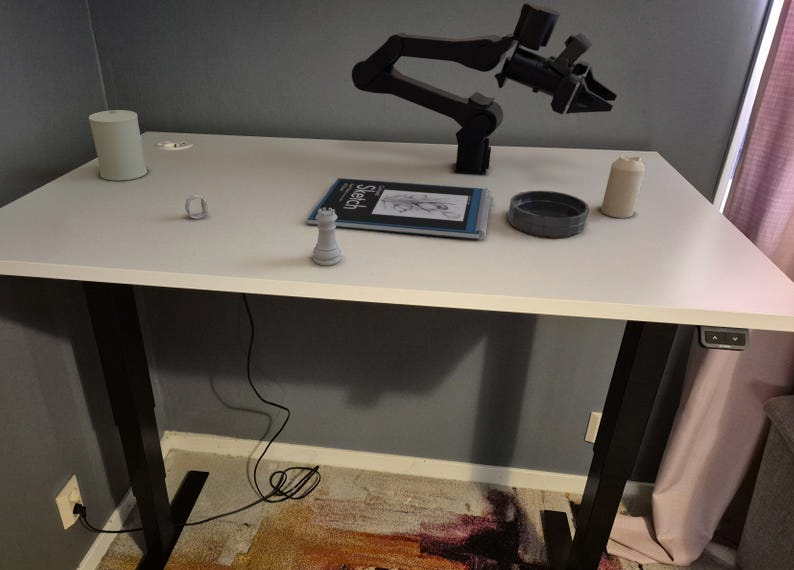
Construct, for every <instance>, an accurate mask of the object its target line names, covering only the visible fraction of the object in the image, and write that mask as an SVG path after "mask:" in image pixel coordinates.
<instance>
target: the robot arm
mask: <svg viewBox="0 0 794 570" xmlns="http://www.w3.org/2000/svg"><path fill="white" fill-rule="evenodd" d="M519 13H520V14H519V17H518V19H517V22H516V25H515V28H514V30H513V32H510V33H508V34H506V35H505V36H502V37H501V36H499V35H497V34H488V35H479V36H473V37H466V38H452V37H441V36H430V35H417V34H408V33H405V32H397V33H395V34H392V35H390V36H389V37H388V38H387V40H386V41H385V42H384V43H383V44H382V45H381V46H379V48H377V49H376V50H374V52H373V53H372V54H370V55H369V57H368V58H366V59H362V60H360V61H358V62H356V64H354V66H352V70H351V81H352V82H353V86H354V87H355V88H356V89H358V90H359V91H361V92H367V93H372V94H381V95H382V94H383V95H384V94H386V95H392V96H395V97H398V98H400V99H403V100H405V101H408V102H410V103H413V104H415V105H417V106H420V107H422V108H425V109H427V110H430V111H433V112H436V113H437V114H439V115H443V116H445V117H448V118H450V119H452V120H454V122H456V123H457V124H458V125H459V126H460V127H461V128H460V129H459V130H457V132H455V138H456V143H457V150H456V160H455V165H454V173H456V174H457V173H458V174H459V173H460V174H473V175H486V174H487V170H489V168H490V162H491V154H492V146H491V145H490V138H489V137H490V136H491V135H492V134H493V133H494V132H495V131H496V130H497V129H498V128H499V127H500V126H501V124H502V122H503V119H504V111H503V108H502V106H501V105H500V104H499V103H498V102H496V101H495V99H496V98H495V97H489V96H485V95H484V94H482V93H480V92H478V91H475V92H474V93H473V94H471V95H470V96H469V97H462V96H460V95H458V94H454V93H451V92H449V91H447V90H444V89H442V88H439V87H437V86H434V85H431V84H428V83H426V82H423V81H421V80H419V79H416V78H413V77H410V76H408V75H405V74H403V73H401V72H400V71H399V70H398V69H397V68H396V67H395V65H396V64H397V62H398V61H399V60H400V59H401V57H405V58H417V59H418V58H419V59H427V60H435V61H445V62H453V63H457V64H459V65H462V66H464V67H465V68H469V69H472V70H476V71H479V72H483V73H488V72H490V71H493V70H494V69H495V68H497V67H498V66H499V65H500V64H501V63H503V62H504V63H503V64H502V67H501V70H500V71H499V72H496V73H495V74H494V79H496V81H497V86H498V88H499V89H502V88H504V87H505V86H506V84H507V83H508V80H510V81H513V82H515V83H518V84H519V85H523V86H525V87H526V88H530V89H532V90H531V92H532V93H535V94H538V93H539V92H540V93H542V94H545V95H547V96H549V97H552V99H551V102H550V107H551V110H552V112H555V113H556V114H559V115H563V114H564V113H565V115H569V114H580V113H606V112H607V113H608V112H611V111H612V110H613V107H614V105H613V103H610V102H612V101H613V102H614V101H616V98H617V96H618V95H617V94H616V92H614V91H613V90H611V89H610V88H609V87H607V86H606V85H605V84H603V83H602V82H601V81H599V80H598V79H597V78H596V77H595V73H594V70H593V67H592V66H591V64H590V63H589V62H587V61H585V60H578V59H579V58H581V56H582V55H584V54H585V53H587V51H588V50H589V49H590V48H591V46H592V45H593V43H592V42H591V41H590V40H589V39H588V38H587V36H586V35H584V34H583V33H582V32H581V31H580V32H579V33H578V34H577V35H575V34H570V35H569V36H568V38H567V39H565V41H564V46H565V48H564V49H563V50H562V51H561V53H560V54H559V55H558V56H554V55H551V56H548V57H546V56H543V55H541V54H538V53H536V52H539V51H540V49H541V47H542V48H546V47H547V46H548V44H549V42H550V39H551V38H552V35H553V32H554V31H555V28H556V25H557V23H558V21H559V19H560V17H561V13H560V12H559V11H557V10H554V9H552V8H550V7H547V6H545V5H544V6H541V5H538V4H532V3H529V2H525V3H523V5H522V6H521V9H520V12H519ZM514 47H515V48H514ZM523 47H524V48H523ZM512 48H514V50H513V53H512V55H511V56H507V52H508V51H510V50H511V49H512ZM530 50H531V51H530ZM533 51H535V52H533ZM567 106H568V108H567ZM566 109H567V110H566Z"/></svg>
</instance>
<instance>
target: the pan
mask: <svg viewBox="0 0 794 570" xmlns="http://www.w3.org/2000/svg"><path fill="white" fill-rule="evenodd" d="M589 212H590V206H589V203H587V202H586V201H585V200H583V199H581V198H579V197H577V196H575V195H571V194H568V193H565V192H559V191H554V190H527V191H522V192H519V193H516V194H514V195H513V196H512V197H511V198H510V200H509V207H508V215H507V220H508V221H509V223H510V224H511V225H512V226H514V227H515V228H516V229H517V230H519V231H521V232H524V233H526V234H529V235H533V236H538V237H544V238H565V237H571V236H573V235H574V236H575V235H576V234H579V233H580V232H582V231H584V229H585V228H586V226H587V221H588V217H589Z"/></svg>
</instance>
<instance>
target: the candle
mask: <svg viewBox="0 0 794 570" xmlns="http://www.w3.org/2000/svg"><path fill="white" fill-rule="evenodd" d="M641 159H642V158H641V157H639V156H634V157H628V156H622V155H621V156H620V157H619V158H617V159H615V161H613V162H612V163H611V166H610V171H609V175H608V179H607V183H606V187H605V192H604V195H603V200H602V205H601V212H602V213H603V214H604V215H606V216H609V217H612V218H619V219H625V218H631V217H632V216H633V215H634V212H635V209H636V205H637V202H638V198H639V193H640V191H641V186H642V183H643V179H644V175H645V171H646V166H645V164H644V162H643V161H642V160H641Z"/></svg>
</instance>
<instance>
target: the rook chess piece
mask: <svg viewBox="0 0 794 570" xmlns="http://www.w3.org/2000/svg"><path fill="white" fill-rule="evenodd" d="M316 219H317V220H318V222H319V224H318V225H316V227H317V229H318V236H317V242H316V243H315V247H313V250H312V253H313V255H312V260H313V261H314V262H315V263H316V264H317V265H320V266H325V267H328V266H334V265H337V264H338V263H339V262H340V261H341V260H342V255H341V254H342V249H341V248H340V246H339V244H338V243H337V237H336V228H337V227H336V225H335V224H334V222H335V220H336V219H337V215H336V214H335V210H334V209H333V210H332V208H329V211H326V208H323V211H322V210H321V209H319V210H318V214H317V215H316Z"/></svg>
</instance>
